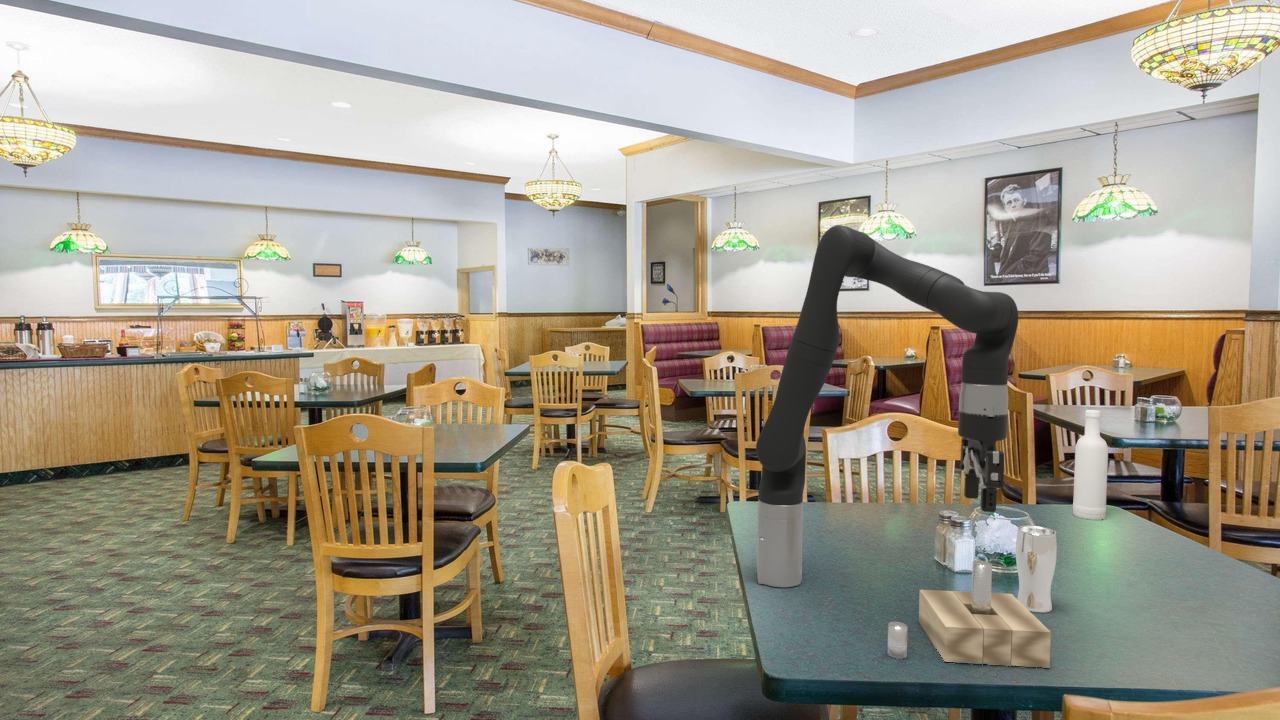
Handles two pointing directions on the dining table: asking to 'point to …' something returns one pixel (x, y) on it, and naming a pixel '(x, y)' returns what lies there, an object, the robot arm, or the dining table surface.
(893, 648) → the short steel pin
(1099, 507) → the bottle
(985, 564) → the long steel pin
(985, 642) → the oak hole block
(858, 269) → the robot arm
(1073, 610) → the dining table surface
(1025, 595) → the beer glass
